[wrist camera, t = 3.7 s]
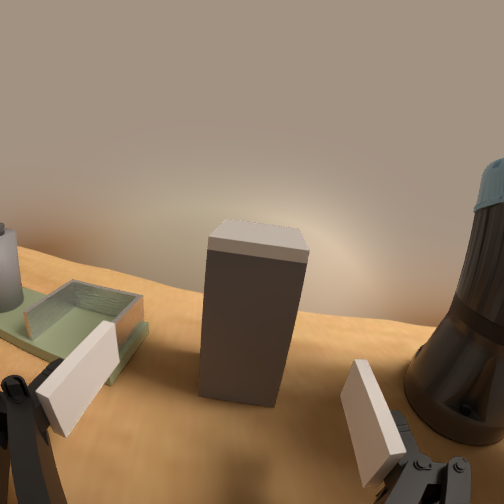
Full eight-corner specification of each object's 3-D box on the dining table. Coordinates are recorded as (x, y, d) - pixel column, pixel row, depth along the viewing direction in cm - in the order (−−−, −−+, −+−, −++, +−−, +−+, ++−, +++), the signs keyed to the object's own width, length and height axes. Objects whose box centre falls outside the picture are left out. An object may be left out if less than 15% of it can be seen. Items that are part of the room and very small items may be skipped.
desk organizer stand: (148, 332, 28) (148, 236, 25) (111, 386, 19) (95, 266, 17) (11, 290, 29) (3, 216, 26) (-32, 317, 20) (-48, 231, 17)
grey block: (274, 358, 27) (298, 228, 24) (274, 407, 20) (309, 250, 17) (213, 349, 27) (225, 218, 24) (198, 395, 21) (208, 236, 17)
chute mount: (144, 321, 28) (143, 295, 27) (106, 369, 20) (101, 339, 19) (75, 303, 28) (72, 279, 27) (29, 339, 20) (22, 311, 19)
